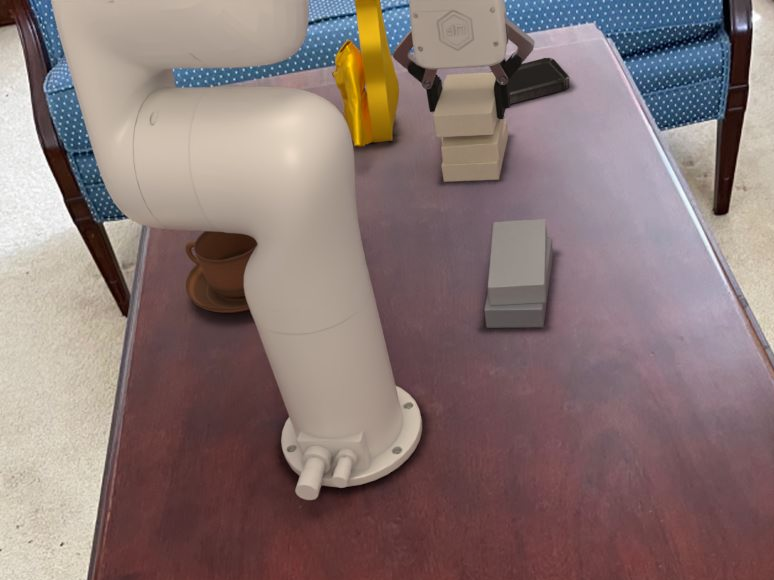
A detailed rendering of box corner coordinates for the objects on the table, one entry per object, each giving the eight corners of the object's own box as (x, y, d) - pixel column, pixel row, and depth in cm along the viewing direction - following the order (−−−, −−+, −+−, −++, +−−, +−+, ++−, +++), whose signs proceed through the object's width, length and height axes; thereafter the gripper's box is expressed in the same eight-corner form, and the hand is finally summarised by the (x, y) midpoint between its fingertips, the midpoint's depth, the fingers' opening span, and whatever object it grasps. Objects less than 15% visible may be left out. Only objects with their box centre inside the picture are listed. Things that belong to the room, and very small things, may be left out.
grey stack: (546, 327, 91) (543, 290, 88) (483, 328, 92) (478, 291, 89) (555, 254, 99) (553, 217, 95) (497, 255, 100) (493, 219, 97)
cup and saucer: (180, 327, 98) (158, 279, 94) (204, 260, 106) (186, 212, 102) (291, 318, 97) (275, 269, 92) (307, 250, 105) (293, 202, 100)
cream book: (493, 134, 106) (491, 112, 104) (436, 137, 107) (432, 115, 105) (503, 92, 112) (501, 71, 110) (449, 95, 113) (446, 74, 111)
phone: (571, 79, 122) (461, 107, 120) (572, 88, 122) (462, 116, 121) (551, 55, 127) (445, 82, 125) (551, 64, 128) (446, 90, 126)
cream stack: (501, 179, 110) (497, 144, 107) (441, 182, 111) (436, 147, 108) (510, 134, 117) (507, 100, 113) (454, 137, 118) (449, 103, 115)
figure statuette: (346, 107, 127) (306, -72, 111) (403, 97, 127) (371, -83, 111) (346, 174, 115) (301, -15, 99) (410, 164, 115) (375, -27, 99)
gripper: (361, -31, 96) (392, 134, 109) (531, -44, 92) (542, 127, 105) (376, -58, 100) (404, 103, 114) (538, -72, 97) (547, 95, 110)
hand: (470, 113), depth 109 cm, fingers closed on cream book, 6 cm apart
